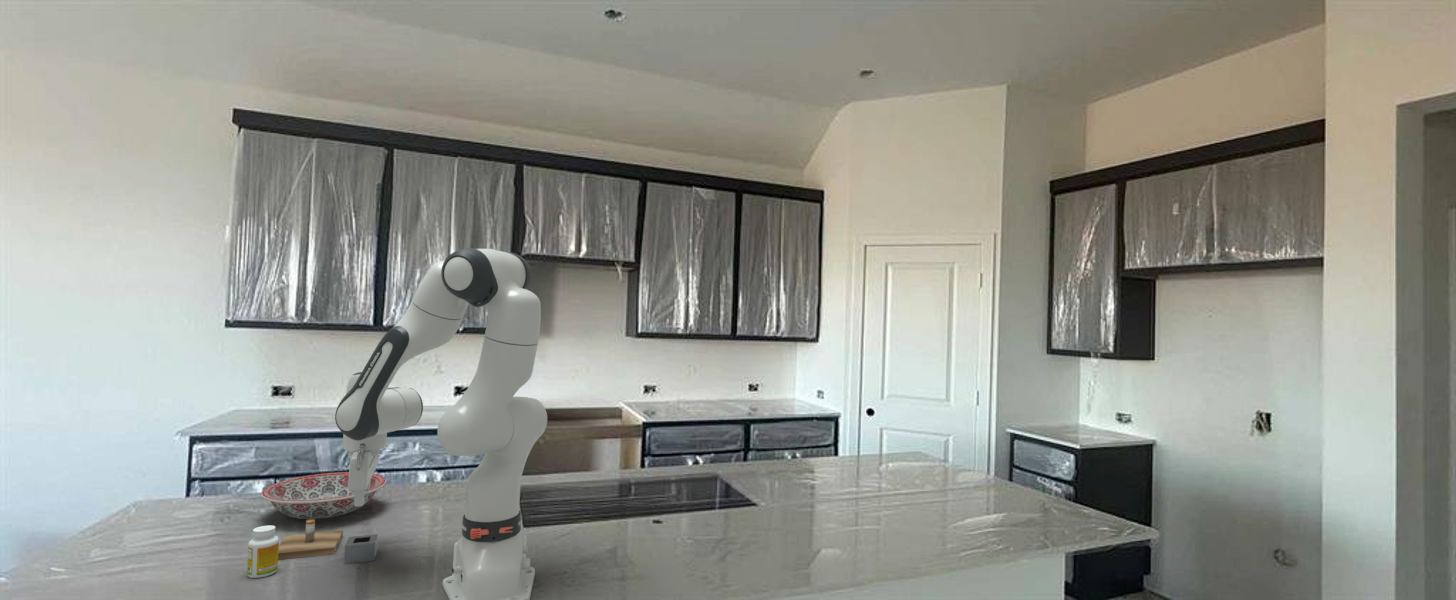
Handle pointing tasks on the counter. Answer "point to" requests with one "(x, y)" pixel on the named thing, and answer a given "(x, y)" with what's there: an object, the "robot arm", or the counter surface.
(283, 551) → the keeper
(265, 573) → the supplement bottle
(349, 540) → the grey square block
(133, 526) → the counter surface
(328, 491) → the ceramic bowl
